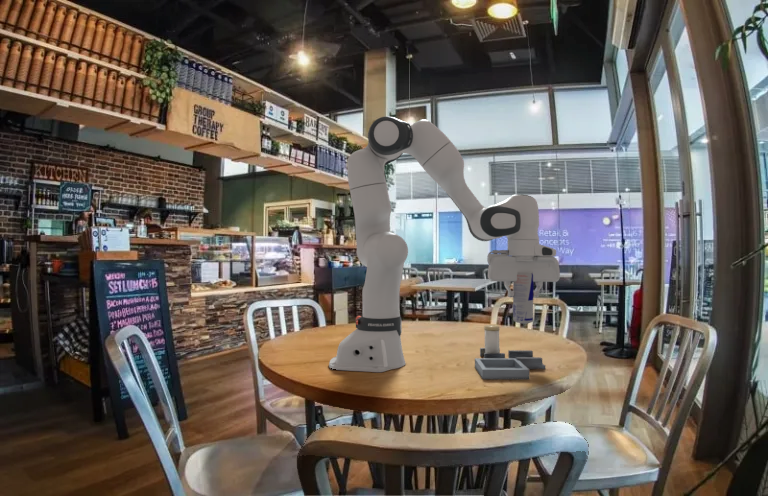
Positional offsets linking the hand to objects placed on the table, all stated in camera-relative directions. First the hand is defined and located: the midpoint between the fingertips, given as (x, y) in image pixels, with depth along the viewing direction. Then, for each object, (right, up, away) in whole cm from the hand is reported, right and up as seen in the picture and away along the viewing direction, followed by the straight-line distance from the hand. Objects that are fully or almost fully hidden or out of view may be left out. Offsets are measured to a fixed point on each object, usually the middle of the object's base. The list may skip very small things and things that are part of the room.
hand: (523, 297), depth 126 cm
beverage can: (0, -8, 0) cm, 8 cm away
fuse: (-7, -20, +7) cm, 22 cm away
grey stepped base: (0, -20, 0) cm, 20 cm away
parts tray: (-9, -20, -9) cm, 23 cm away
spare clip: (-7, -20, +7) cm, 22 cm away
